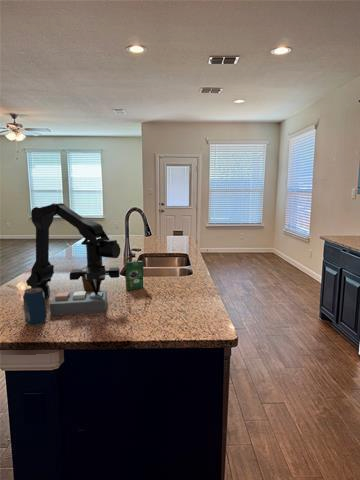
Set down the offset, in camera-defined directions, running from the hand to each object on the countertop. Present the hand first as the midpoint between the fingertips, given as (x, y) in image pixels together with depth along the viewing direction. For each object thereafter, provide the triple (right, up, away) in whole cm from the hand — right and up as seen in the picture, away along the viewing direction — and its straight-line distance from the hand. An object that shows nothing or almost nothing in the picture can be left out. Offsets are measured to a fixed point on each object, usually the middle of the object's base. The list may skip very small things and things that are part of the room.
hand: (96, 294), depth 125 cm
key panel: (-6, -5, 0) cm, 8 cm away
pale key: (-6, -3, -1) cm, 7 cm away
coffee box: (+12, -1, +23) cm, 26 cm away
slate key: (0, -4, +1) cm, 4 cm away
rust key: (-13, -4, -2) cm, 13 cm away
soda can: (-18, -8, -13) cm, 24 cm away
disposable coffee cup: (-6, -3, +15) cm, 16 cm away
